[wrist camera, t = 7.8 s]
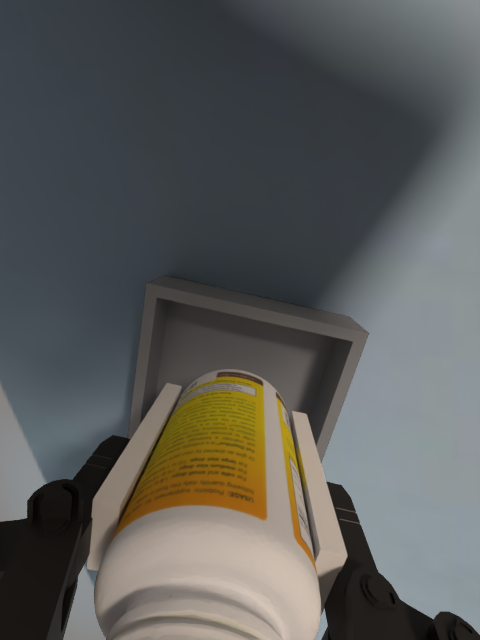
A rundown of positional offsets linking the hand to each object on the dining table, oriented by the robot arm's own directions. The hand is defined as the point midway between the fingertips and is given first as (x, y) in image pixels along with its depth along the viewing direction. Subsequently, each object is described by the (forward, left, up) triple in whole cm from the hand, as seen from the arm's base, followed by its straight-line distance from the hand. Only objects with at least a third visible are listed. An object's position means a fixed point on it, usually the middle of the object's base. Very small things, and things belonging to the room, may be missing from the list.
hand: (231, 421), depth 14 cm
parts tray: (0, 0, -4) cm, 4 cm away
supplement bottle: (0, 0, 0) cm, 1 cm away
